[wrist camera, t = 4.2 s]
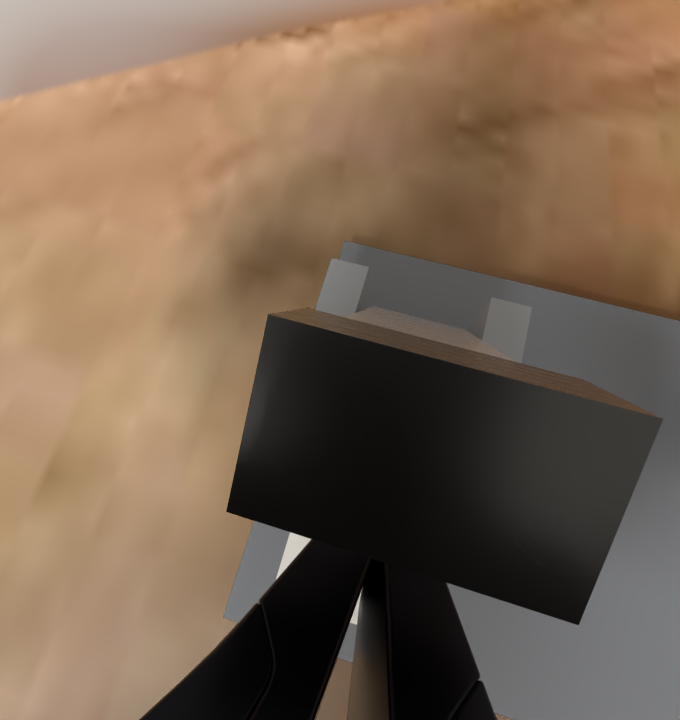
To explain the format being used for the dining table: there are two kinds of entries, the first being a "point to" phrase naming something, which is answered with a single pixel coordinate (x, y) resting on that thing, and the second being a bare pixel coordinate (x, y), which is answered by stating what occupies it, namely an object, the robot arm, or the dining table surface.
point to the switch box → (636, 531)
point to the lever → (438, 455)
